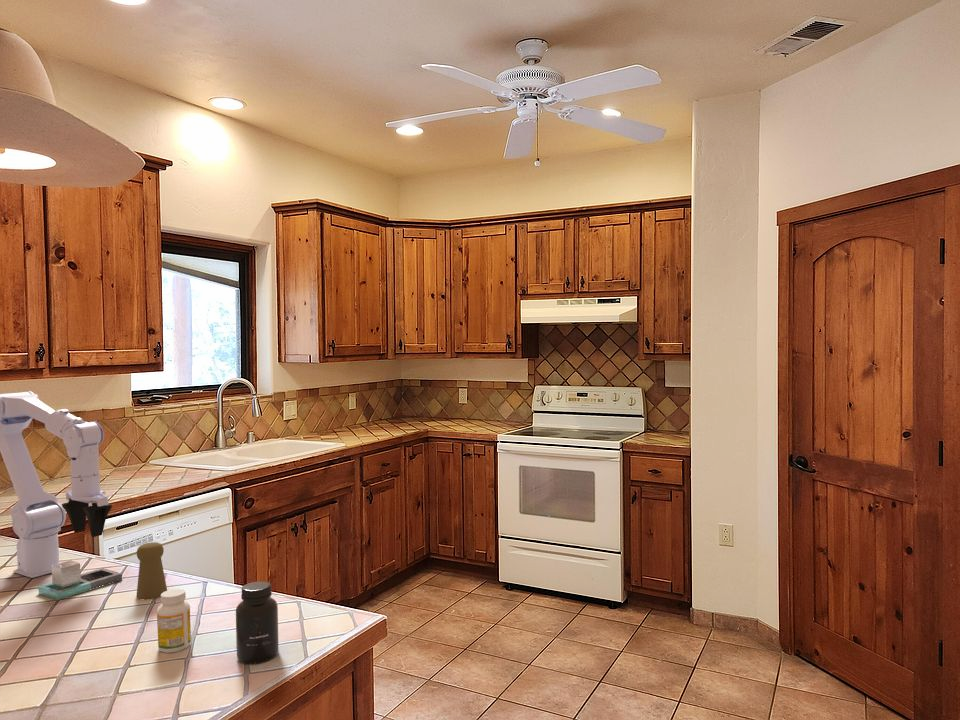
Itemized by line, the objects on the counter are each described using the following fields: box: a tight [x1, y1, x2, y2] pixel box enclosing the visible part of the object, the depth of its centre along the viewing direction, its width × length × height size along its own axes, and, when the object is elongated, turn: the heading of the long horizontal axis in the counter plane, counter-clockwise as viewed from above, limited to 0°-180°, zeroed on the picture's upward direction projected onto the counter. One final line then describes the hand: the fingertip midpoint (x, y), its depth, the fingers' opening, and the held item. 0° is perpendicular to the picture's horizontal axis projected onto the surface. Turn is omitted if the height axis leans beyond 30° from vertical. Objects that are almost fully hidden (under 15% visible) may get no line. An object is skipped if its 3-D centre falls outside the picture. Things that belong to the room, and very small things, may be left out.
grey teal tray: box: [38, 567, 123, 601], centre depth 154 cm, size 8×14×2 cm, turn 147°
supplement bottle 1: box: [156, 588, 192, 654], centre depth 121 cm, size 5×5×10 cm
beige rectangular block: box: [51, 559, 82, 591], centre depth 151 cm, size 4×4×6 cm
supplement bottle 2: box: [235, 581, 279, 665], centre depth 117 cm, size 7×7×12 cm
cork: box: [136, 541, 168, 601], centre depth 147 cm, size 6×6×11 cm
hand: (88, 533), depth 159 cm, fingers open, 7 cm apart
